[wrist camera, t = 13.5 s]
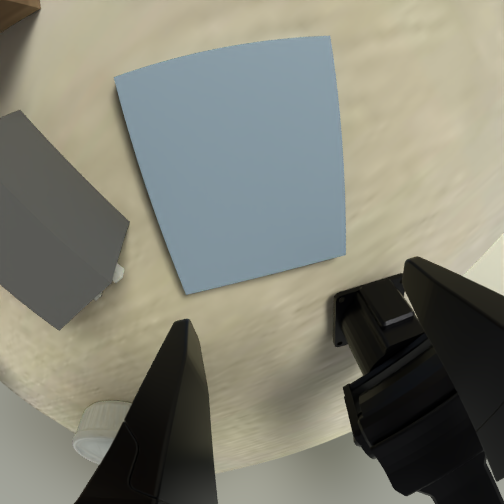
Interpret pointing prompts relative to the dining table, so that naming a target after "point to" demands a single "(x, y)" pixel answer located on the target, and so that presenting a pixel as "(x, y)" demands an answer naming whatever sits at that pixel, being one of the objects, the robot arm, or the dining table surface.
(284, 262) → the pad
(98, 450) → the ramekin
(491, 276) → the tissue box
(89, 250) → the charcoal wedge block
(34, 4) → the rail
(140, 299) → the dining table surface
